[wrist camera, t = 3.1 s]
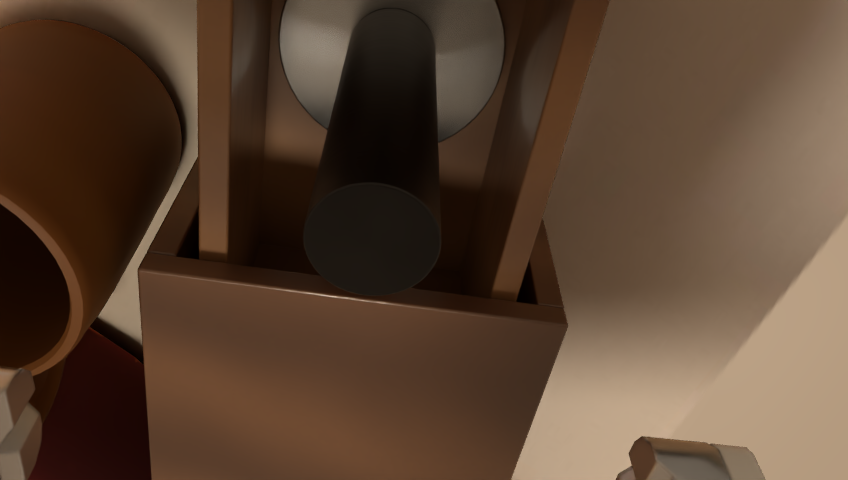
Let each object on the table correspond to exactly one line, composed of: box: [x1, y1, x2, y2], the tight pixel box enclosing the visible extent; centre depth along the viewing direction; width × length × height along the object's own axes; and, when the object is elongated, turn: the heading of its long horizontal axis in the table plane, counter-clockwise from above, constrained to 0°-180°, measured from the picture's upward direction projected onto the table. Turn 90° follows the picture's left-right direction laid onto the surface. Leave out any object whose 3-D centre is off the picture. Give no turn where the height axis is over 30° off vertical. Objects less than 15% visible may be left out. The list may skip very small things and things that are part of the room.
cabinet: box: [138, 157, 568, 480], centre depth 28 cm, size 17×12×9 cm
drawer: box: [197, 0, 610, 302], centre depth 20 cm, size 20×10×7 cm, turn 170°
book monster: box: [28, 327, 152, 480], centre depth 30 cm, size 11×9×12 cm
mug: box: [0, 20, 182, 424], centre depth 23 cm, size 12×8×9 cm, turn 170°
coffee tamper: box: [278, 0, 506, 296], centre depth 18 cm, size 7×7×10 cm
